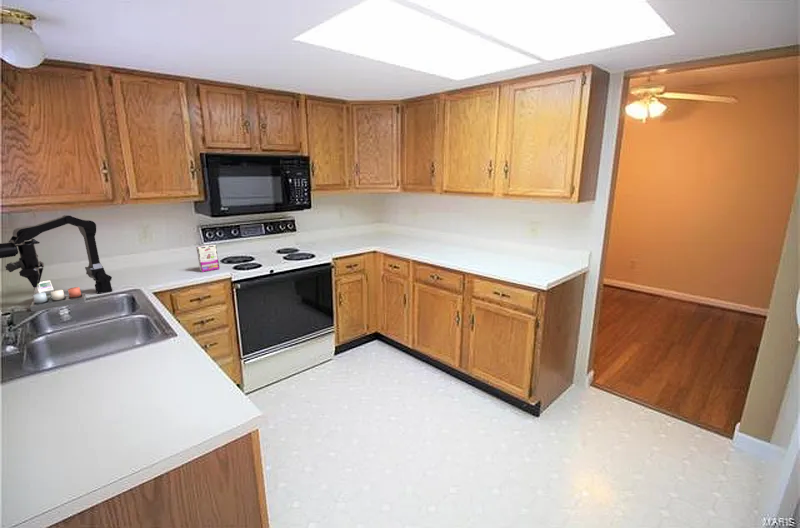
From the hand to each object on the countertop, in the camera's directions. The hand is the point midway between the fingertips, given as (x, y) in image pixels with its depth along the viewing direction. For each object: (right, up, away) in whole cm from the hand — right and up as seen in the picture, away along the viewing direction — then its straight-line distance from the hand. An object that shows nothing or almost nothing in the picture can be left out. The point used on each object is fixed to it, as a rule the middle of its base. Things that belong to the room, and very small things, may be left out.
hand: (36, 285), depth 182 cm
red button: (+11, -6, +9) cm, 16 cm away
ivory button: (+6, -7, +6) cm, 11 cm away
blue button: (0, -8, +2) cm, 8 cm away
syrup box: (-11, -5, +14) cm, 19 cm away
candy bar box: (+51, +6, +66) cm, 84 cm away
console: (+6, -10, +6) cm, 13 cm away
